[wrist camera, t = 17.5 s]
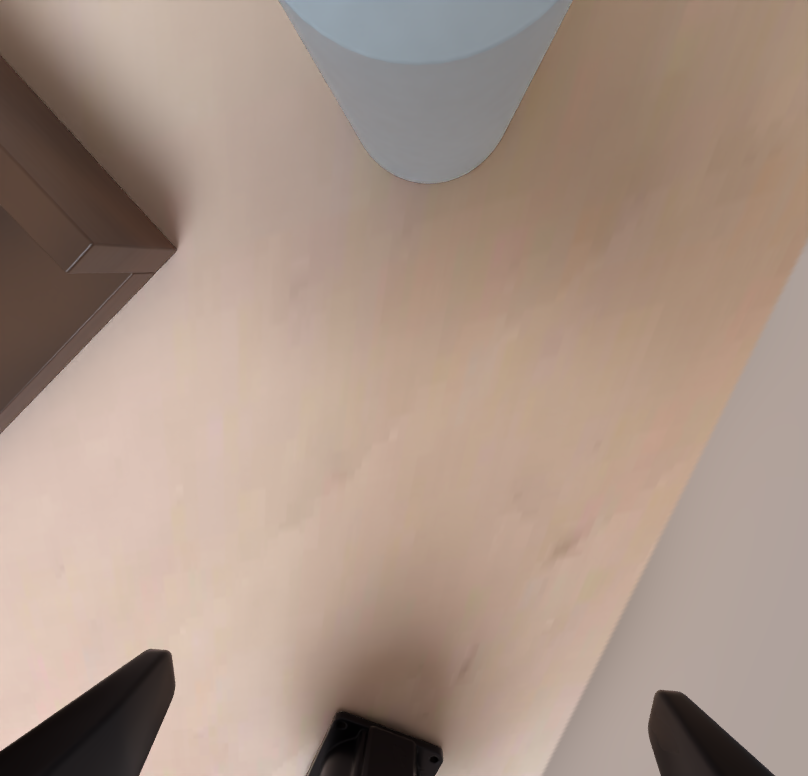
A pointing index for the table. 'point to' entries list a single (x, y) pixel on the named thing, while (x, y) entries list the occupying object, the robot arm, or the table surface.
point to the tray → (59, 246)
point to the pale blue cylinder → (427, 73)
